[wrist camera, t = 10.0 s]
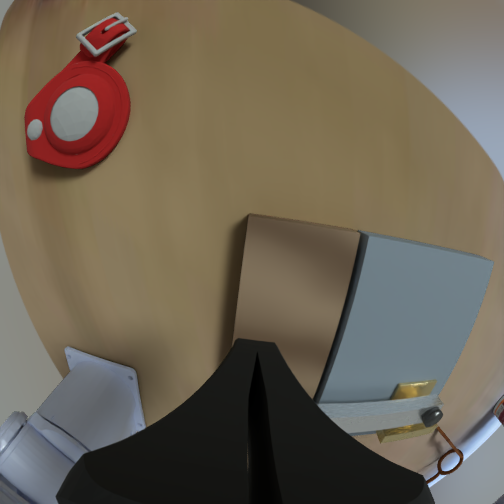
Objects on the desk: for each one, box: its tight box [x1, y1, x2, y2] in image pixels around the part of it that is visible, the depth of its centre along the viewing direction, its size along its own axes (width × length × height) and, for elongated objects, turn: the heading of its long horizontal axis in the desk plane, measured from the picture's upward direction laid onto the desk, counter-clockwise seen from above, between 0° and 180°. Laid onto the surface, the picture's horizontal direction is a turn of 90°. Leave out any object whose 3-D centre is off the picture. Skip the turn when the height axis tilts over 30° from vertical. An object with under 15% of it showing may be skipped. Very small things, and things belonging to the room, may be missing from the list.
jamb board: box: [232, 213, 360, 400], centre depth 18 cm, size 18×7×3 cm, turn 172°
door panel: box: [313, 230, 494, 436], centre depth 18 cm, size 18×13×2 cm
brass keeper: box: [376, 379, 438, 443], centre depth 17 cm, size 4×6×3 cm
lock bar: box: [317, 394, 444, 433], centre depth 16 cm, size 15×3×2 cm, turn 83°
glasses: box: [426, 426, 463, 484], centre depth 22 cm, size 13×13×5 cm
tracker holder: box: [24, 13, 137, 169], centre depth 14 cm, size 12×4×10 cm
